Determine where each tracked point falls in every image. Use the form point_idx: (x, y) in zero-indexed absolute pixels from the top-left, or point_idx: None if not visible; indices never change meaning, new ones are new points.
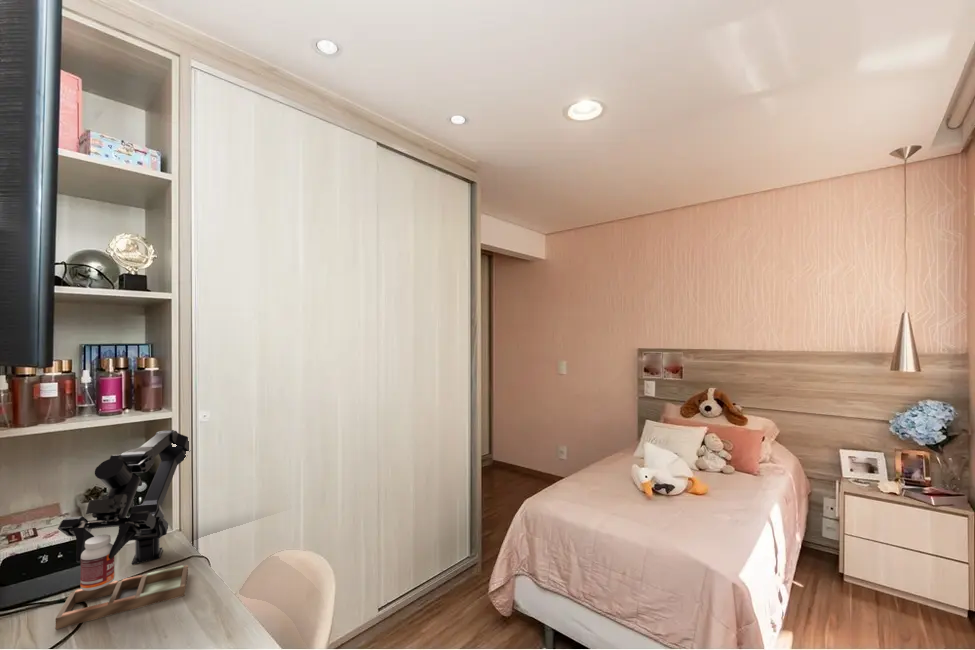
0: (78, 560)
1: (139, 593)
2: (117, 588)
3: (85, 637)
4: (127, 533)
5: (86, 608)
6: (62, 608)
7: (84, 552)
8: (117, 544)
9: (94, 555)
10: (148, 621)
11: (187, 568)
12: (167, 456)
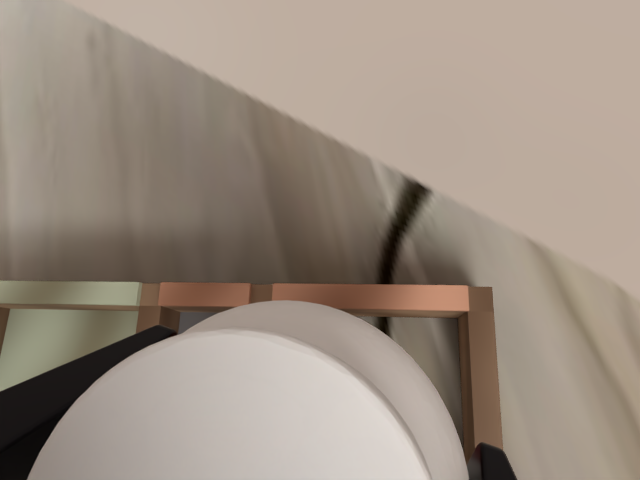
0: (478, 445)
1: (143, 326)
2: None
3: (340, 166)
4: None
5: (363, 293)
6: (492, 384)
7: (418, 426)
8: (13, 389)
9: (284, 306)
10: (137, 161)
11: None
12: None
